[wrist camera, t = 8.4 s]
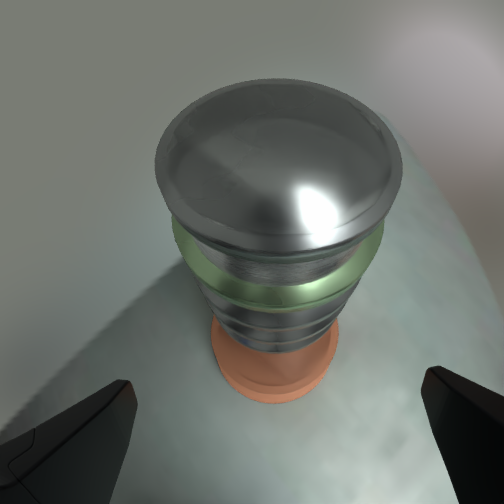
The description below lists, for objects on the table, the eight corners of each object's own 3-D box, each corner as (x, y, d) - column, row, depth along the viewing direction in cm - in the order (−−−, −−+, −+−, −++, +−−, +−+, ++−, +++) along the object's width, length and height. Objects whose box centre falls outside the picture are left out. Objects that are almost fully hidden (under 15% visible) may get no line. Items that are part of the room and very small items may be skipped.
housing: (333, 399, 19) (351, 395, 14) (217, 403, 19) (201, 401, 15) (324, 293, 22) (337, 261, 18) (219, 297, 23) (206, 266, 18)
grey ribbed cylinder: (343, 353, 11) (446, 253, 4) (212, 358, 11) (121, 266, 4) (330, 239, 13) (369, 78, 6) (216, 243, 13) (170, 84, 6)
